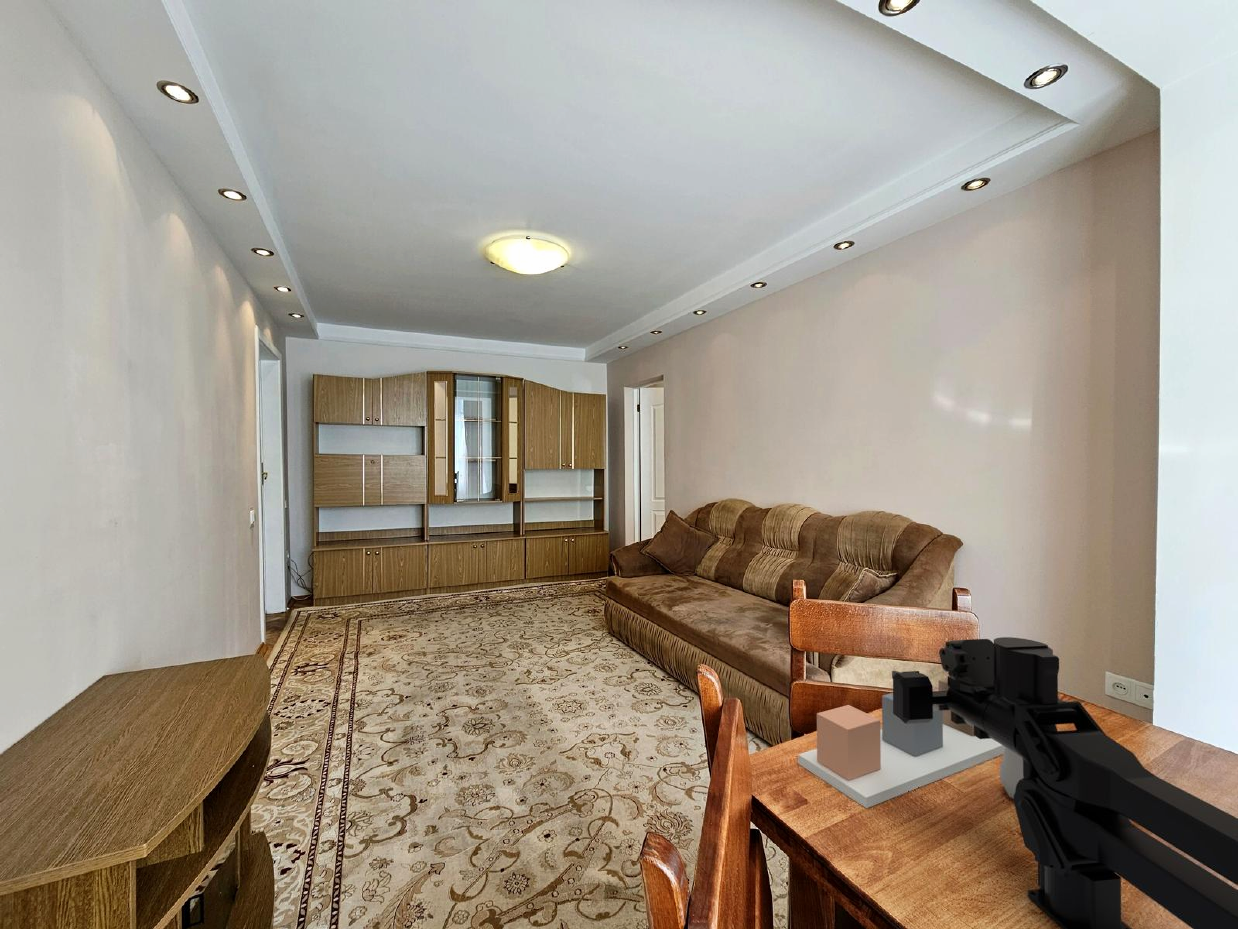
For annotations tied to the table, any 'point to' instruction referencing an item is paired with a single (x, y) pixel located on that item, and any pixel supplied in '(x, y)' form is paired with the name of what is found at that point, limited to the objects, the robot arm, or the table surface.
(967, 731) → the walnut block
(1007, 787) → the salt shaker
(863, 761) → the terracotta block
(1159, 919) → the table surface
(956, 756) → the grey base board
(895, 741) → the dark slate block
